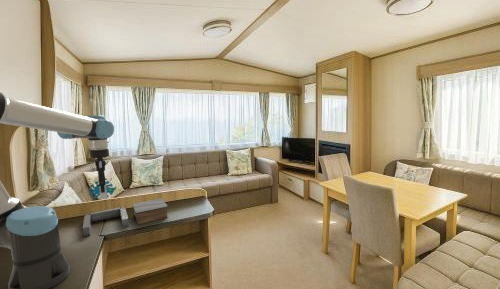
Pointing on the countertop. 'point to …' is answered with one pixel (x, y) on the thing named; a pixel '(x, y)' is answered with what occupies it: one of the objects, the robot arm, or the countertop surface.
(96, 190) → the blue lumpy piece
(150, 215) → the dark brown wooden box
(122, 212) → the cradle
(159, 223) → the countertop surface
